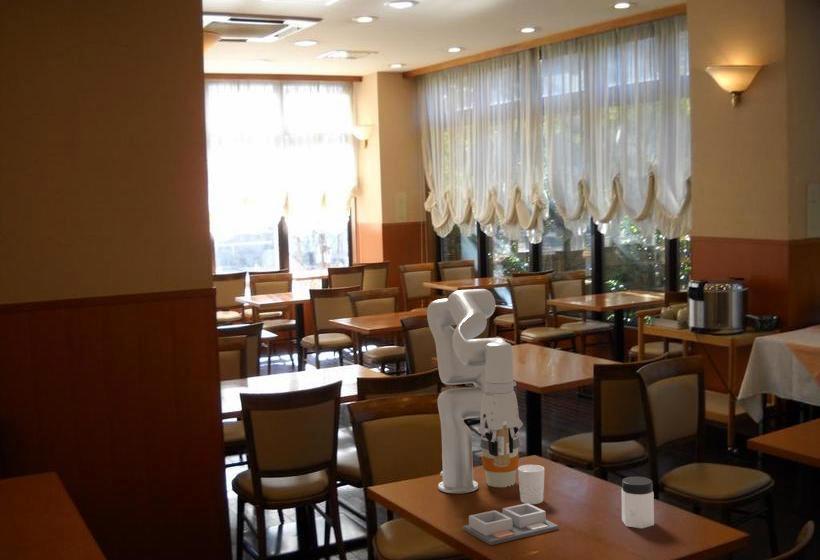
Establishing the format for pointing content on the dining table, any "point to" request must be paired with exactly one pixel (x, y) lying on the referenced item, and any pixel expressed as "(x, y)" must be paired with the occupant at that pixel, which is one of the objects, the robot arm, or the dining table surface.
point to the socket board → (509, 524)
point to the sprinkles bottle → (502, 447)
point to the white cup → (531, 483)
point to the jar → (637, 502)
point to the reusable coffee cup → (499, 474)
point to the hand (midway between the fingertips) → (501, 452)
